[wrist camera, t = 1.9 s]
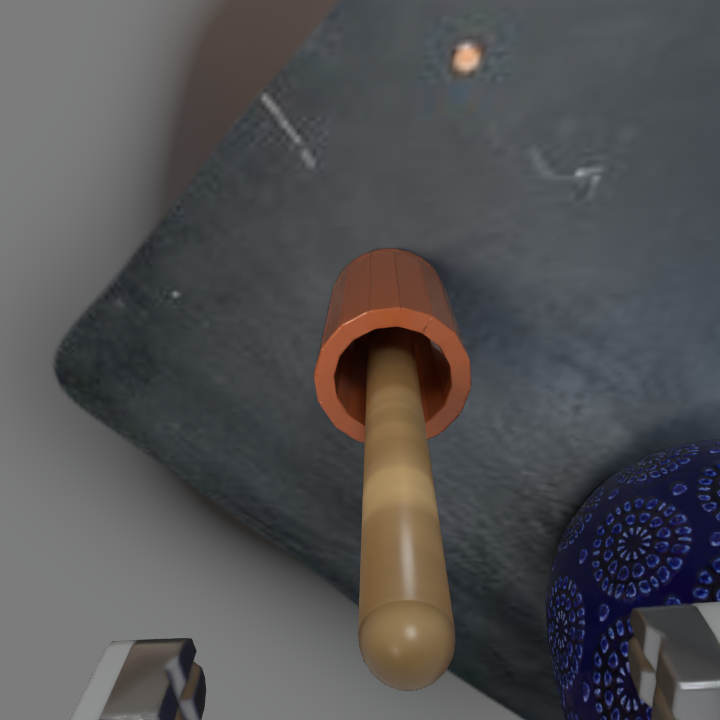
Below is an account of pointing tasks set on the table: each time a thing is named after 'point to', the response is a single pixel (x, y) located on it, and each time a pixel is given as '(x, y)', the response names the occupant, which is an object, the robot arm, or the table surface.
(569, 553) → the planter
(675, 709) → the robot arm
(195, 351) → the table surface
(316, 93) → the table surface
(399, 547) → the stick
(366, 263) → the crock
